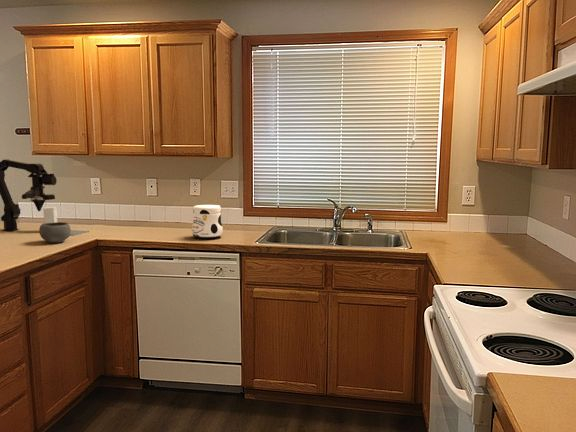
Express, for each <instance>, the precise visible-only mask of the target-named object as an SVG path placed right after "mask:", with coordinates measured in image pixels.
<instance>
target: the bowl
mask: <svg viewBox="0 0 576 432" xmlns="http://www.w3.org/2000/svg"><path fill="white" fill-rule="evenodd" d="M71 230H72V229H71V227H70V224H69V223H68V222H63V221H61V222H60V221H59V222H54V223H44V222H43V223H41V224H40V226H39V231H38V232H39V236H40V238H41V239H42V240H44V241H45V242H48V243H51V244H53V243H54V244H55V243H61V242H64V241H66V240H67V239H68V238H69V237H70V236H71V235H70V231H71Z"/></svg>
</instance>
